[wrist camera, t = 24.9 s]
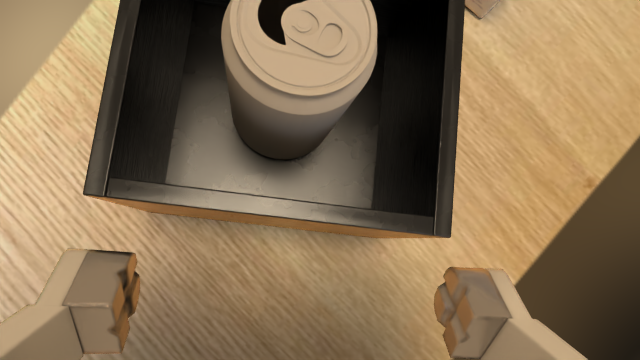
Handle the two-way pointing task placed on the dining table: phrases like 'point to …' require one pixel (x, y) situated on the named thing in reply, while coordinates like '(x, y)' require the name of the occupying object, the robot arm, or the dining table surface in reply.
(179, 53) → the dark storage bin
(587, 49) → the dining table surface
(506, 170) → the dining table surface
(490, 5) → the medicine box
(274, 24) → the beverage can
